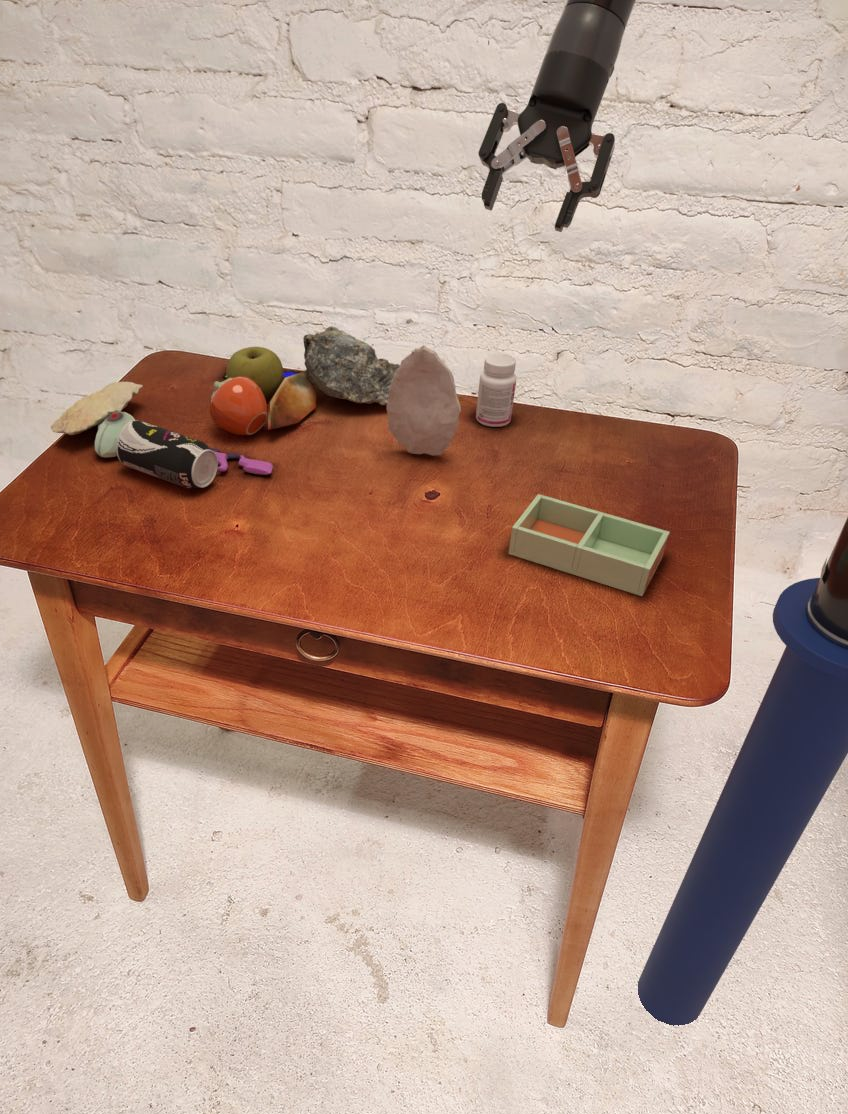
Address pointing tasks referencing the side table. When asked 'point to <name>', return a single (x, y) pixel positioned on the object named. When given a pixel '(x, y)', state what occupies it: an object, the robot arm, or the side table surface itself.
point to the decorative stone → (291, 401)
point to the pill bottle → (496, 390)
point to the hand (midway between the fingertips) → (522, 218)
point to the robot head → (110, 433)
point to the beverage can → (166, 455)
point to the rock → (347, 367)
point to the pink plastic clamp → (243, 463)
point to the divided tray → (589, 544)
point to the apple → (257, 368)
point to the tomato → (238, 406)
